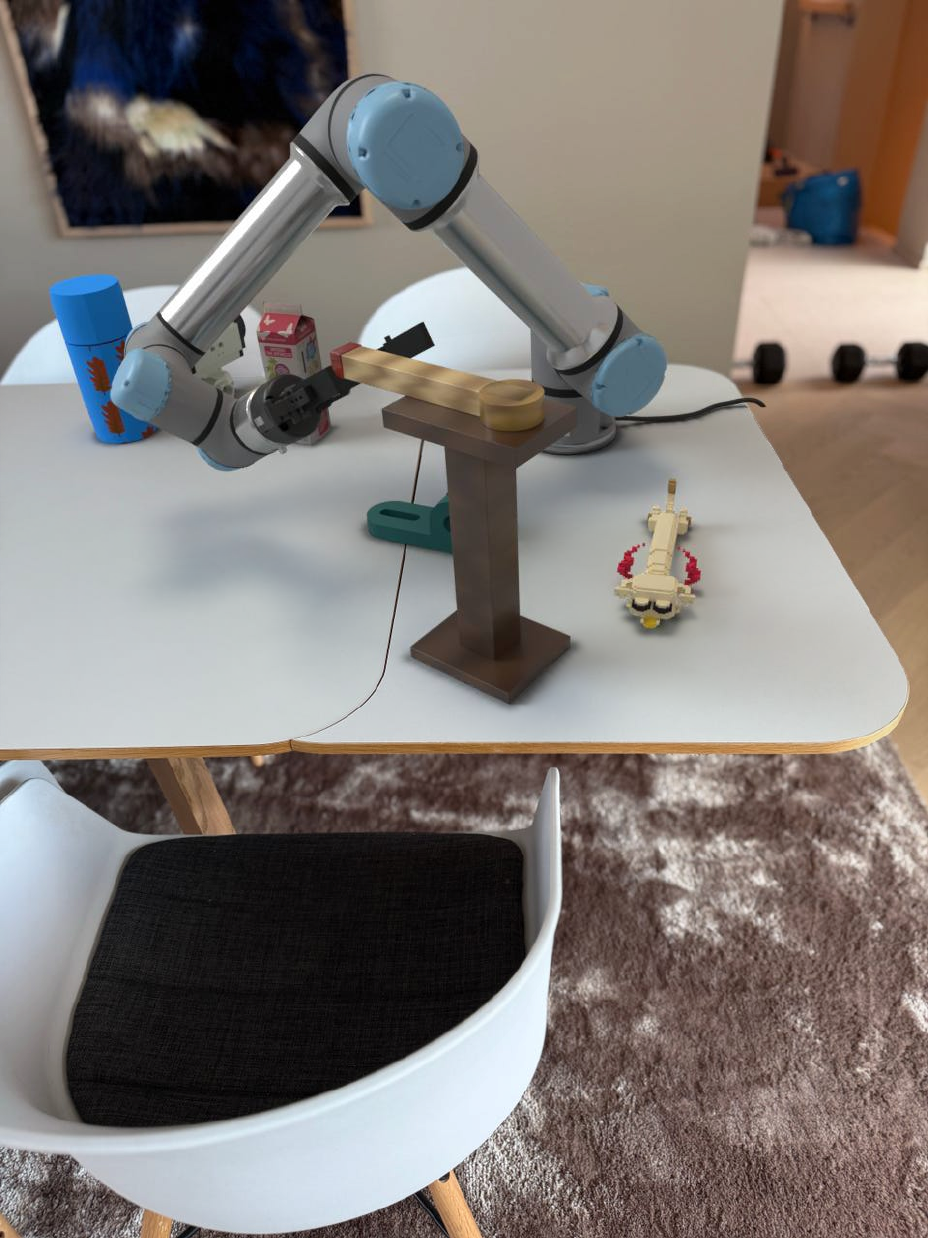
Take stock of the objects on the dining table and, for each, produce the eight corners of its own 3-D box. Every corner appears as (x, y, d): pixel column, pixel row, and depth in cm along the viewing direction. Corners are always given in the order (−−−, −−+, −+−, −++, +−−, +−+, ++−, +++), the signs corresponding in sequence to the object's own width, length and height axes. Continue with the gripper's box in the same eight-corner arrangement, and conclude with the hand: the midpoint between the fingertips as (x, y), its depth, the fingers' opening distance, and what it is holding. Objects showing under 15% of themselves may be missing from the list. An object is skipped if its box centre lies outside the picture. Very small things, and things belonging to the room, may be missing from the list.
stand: (404, 653, 105) (373, 412, 87) (468, 602, 113) (452, 369, 95) (516, 708, 97) (508, 453, 79) (578, 649, 104) (583, 403, 86)
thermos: (172, 423, 160) (133, 278, 145) (125, 449, 153) (78, 299, 138) (130, 412, 165) (88, 270, 150) (83, 436, 158) (33, 290, 143)
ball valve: (196, 424, 159) (170, 324, 148) (161, 416, 163) (134, 317, 152) (264, 386, 171) (244, 290, 160) (230, 379, 175) (209, 285, 164)
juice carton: (297, 423, 157) (273, 294, 144) (331, 427, 155) (310, 297, 142) (277, 440, 152) (251, 308, 139) (312, 445, 150) (289, 311, 137)
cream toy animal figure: (631, 529, 126) (605, 625, 106) (635, 470, 121) (609, 559, 101) (705, 536, 124) (693, 636, 104) (712, 476, 119) (701, 569, 99)
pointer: (323, 380, 94) (319, 356, 93) (363, 361, 98) (359, 337, 96) (519, 437, 81) (518, 410, 80) (557, 412, 85) (557, 386, 83)
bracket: (497, 532, 125) (495, 482, 120) (477, 558, 120) (474, 506, 116) (382, 511, 132) (376, 462, 127) (359, 534, 127) (352, 484, 122)
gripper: (366, 404, 116) (476, 350, 100) (211, 486, 101) (311, 437, 85) (338, 349, 114) (445, 284, 98) (175, 424, 99) (271, 362, 83)
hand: (383, 355), depth 91 cm, fingers open, 13 cm apart
